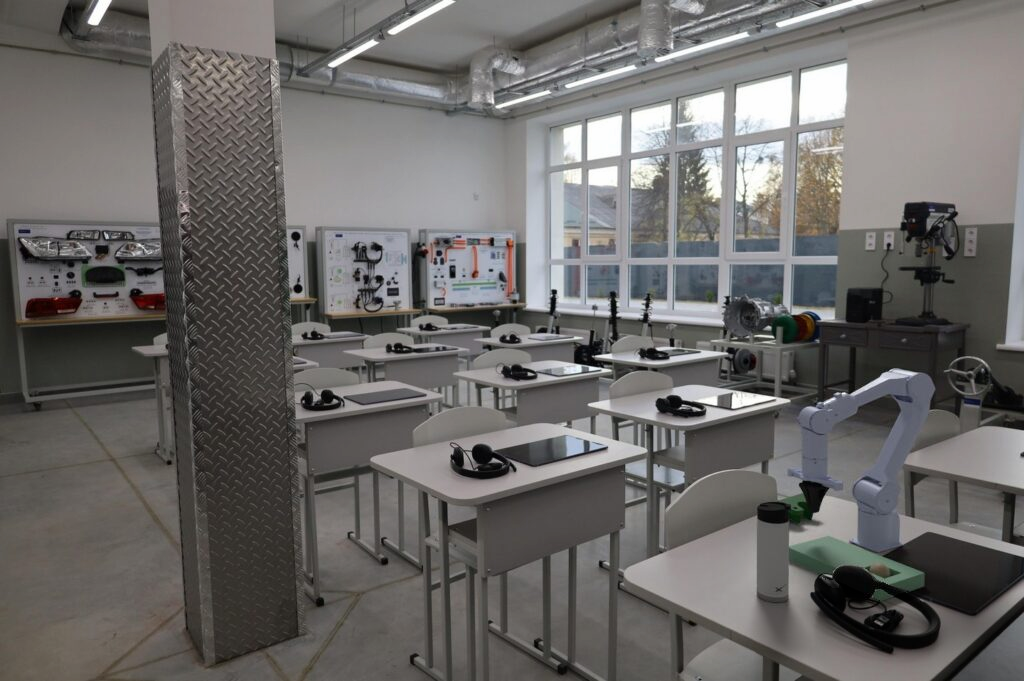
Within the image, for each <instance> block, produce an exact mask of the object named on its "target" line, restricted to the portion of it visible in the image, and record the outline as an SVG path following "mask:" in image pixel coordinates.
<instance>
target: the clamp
mask: <svg viewBox="0 0 1024 681" xmlns="http://www.w3.org/2000/svg"><path fill="white" fill-rule="evenodd" d="M776 502H783V503H786V504H790V505H791V509H790V510H789V521H792V522H794V523H795V524H797V525H801V523H802V520H803V518H804V519H807V520H809V521H812V520H813V516H814V513H811V512H809V510H808V506H807V502H806V499H805V496H804V494H803V492H802V493H798V494H795V495H792V496H789V497H785V498H781V499H779V500H778V499H777V501H776Z"/></svg>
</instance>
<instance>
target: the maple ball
mask: <svg viewBox="0 0 1024 681" xmlns="http://www.w3.org/2000/svg"><path fill="white" fill-rule="evenodd" d="M869 572H871V573H872V574H874V575H877V576H879V577H881V578H884V579H885V578H888V577H890V570H889V569H888V567H887V566H886V565H884V564H882V563H874V564H873V565H871V567H870V569H869Z"/></svg>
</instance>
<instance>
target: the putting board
mask: <svg viewBox="0 0 1024 681" xmlns="http://www.w3.org/2000/svg"><path fill="white" fill-rule="evenodd" d="M789 562H792V563H794V564H797V565H798V566H799V565H800V566H801V567H803V568H805V569H808V570H810V571H812V572H815V573H817V574H819V575H821V574H823V573H829V574H833V571H834V570H835V569H836V568H837V567H839V566H841V565H856V566H860V567H863V568H865V569H867V570H868V571H869V569H870V567H871V565H873V564H874V563H882V564H884V565H886V566H887V567H888V569H889V570H890V577H888V578H885V579H884V578H881V577H879V576H877V575H874V574H872V573H871V574H872V575H873V576H874V577H875V578H876V579H877V580H879V581H881V582H884V583H886V584H888V585H891V586H894V587H898V588H902V589H905V590H908V591H909V592H911V591H912V592H913V591H916V590H917V589H921V588H923V587H925V580H926V578H925V573H926V572H924V571H921V570H918V569H915V568H913V567H911V566H907V565H905V564H903V563H901V562H897V561H895V560H892V559H890V558H887V557H884V556H882V555H879V554H877V553H875V552H872V551H869V550H867V549H865V548H863V547H862V548H861V547H860V546H857V545H855V544H852V543H850V542H849V543H848V542H845V541H843V540H842V539H838V538H835V537H833V536H830V535H826V536H823V537H819V538H814V539H811V540H807V541H804V542H801V543H797V544H792V545H789ZM874 598H875V599H874ZM891 598H893V597H892V596H891V595H890V594H888V593H887V592H885V591H884V590H882V589H877V590H876V591H875V592H874V595H873V598H872V599H874V600H876V599H877V600H876V601H878V600H880V601H879V602H883V601H885V600H888V599H891Z"/></svg>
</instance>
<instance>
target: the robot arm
mask: <svg viewBox="0 0 1024 681" xmlns="http://www.w3.org/2000/svg"><path fill="white" fill-rule="evenodd" d="M935 392H936V387H935V384H934V381H933V380H932V378H931V376H930V375H928V374H927V373H924V372H915V371H911V370H906V369H905V370H904V369H901V368H898V367H897V368H892V369H890V370H889V371H886V372H883V373H881V375H880V376H879V377H877V378H876V379H874V380H872V381H870V382H869V383H868V384H866V385H864V386H862V387H861V388H858V389H857V390H854V391H853V392H852V393H850V394H849V393H847V392H836V393H833V397H830V398H829V399H826V400H825V401H819V402H817V403H816V405H815V406H806V407H804V408H803V409H801V411H800V412H799V415H798V417H796V422H797V425H798V426H799V427H800V429H801V430H800V431H801V432H800V434H801V468H797V467H793V466H792V467H789V468H788V467H787V476H788V477H791V478H793V477H794V478H797V479H800V480H801V482H799V483H798V487H799V488H800V490H801V492H802V493H803V494H804V496H805V499H806V502H807V506H808V510H809V512H811V513H813V514H816V513H819V512H820V511H821V510H820V509H821V506H822V503H823V500H824V498H825V496H826V494H827V493H828V491H829V489H833V491H835V492H841V491H843V490H844V482H843V481H841V480H838V479H836V478H835V477H833V476H831V475H828V467H829V465H828V458H829V456H828V455H829V454H828V452H829V450H828V449H829V433H830V432H831V431H832V430H833V428H834V425H836V424H838V423H840V422H842V421H843V420H846V419H848V418H850V417H852V416H854V415H855V414H857V412H858V408H859V407H861V406H863V405H866V404H868V403H870V402H872V401H873V402H874V401H875V400H877V399H879V398H881V397H884V396H887V395H891V397H892V398H893V399H894V400H895V401H896V402H897V403H898V406H899V408H900V412H899V415H898V416H897V418H896V421H895V422H894V425H893V426H892V428H891V431H890V433H889V435H888V436H887V438H886V440H885V443H884V444H883V447H882V448H881V451H880V453H879V455H878V457H877V459H876V461H875V463H874V465H873V467H871V468H868V469H867V470H864V471H863V473H862V474H861V476H860V477H859V478H858V479H856V480H855V481H854V483H853V484H852V487H851V496H852V497H853V499H855V500H856V506H857V527H856V528H857V535H856V537H854V538H850V539H849V540H848V542H849V543H850V544H853V545H856V546H858V547H862V548H863V549H866V550H867V549H868V550H870V551H871V552H872V551H873V552H874V553H875V552H876V553H880V552H883V551H888V550H891V549H894V548H898V547H901V546H903V544H904V543H903V542H900V534H901V533H900V528H901V519H900V516H899V514H898V512H897V510H896V508H897V507H898V504H899V499H900V498H899V496H900V493H901V491H902V486H901V485H900V482H899V480H898V477H899V475H900V472H901V471H902V468H903V466H904V464H905V462H906V460H907V458H908V456H909V454H910V453H911V450H912V448H913V446H914V444H915V442H916V440H917V439H918V438H917V437H918V436H919V434H920V432H921V430H922V428H923V426H924V424H925V421H926V420H927V418H928V416H929V413H930V409H931V408H930V407H931V400H932V398H933V395H934V393H935Z"/></svg>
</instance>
